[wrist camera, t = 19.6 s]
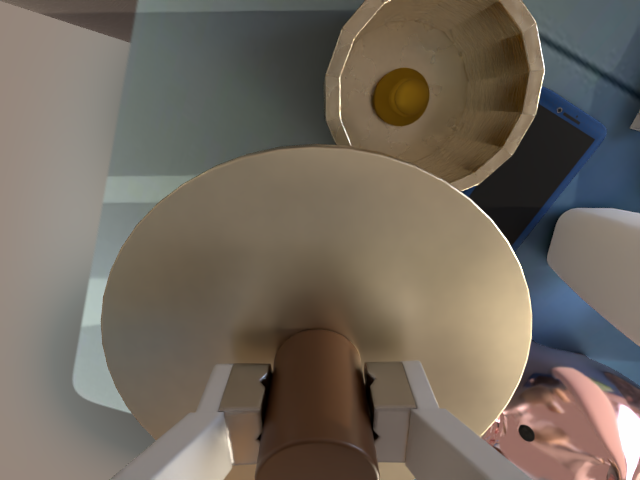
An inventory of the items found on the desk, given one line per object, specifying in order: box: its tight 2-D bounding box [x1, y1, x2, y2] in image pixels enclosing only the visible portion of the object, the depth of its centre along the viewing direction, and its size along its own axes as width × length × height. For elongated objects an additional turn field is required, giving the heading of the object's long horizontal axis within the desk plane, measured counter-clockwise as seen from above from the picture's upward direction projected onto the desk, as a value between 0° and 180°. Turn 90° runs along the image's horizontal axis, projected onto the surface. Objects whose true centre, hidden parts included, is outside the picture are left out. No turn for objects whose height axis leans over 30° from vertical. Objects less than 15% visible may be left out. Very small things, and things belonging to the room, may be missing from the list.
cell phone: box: [461, 87, 607, 252], centre depth 28 cm, size 7×14×1 cm, turn 153°
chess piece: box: [373, 68, 430, 126], centre depth 23 cm, size 4×4×5 cm
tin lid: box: [101, 144, 532, 480], centre depth 9 cm, size 13×13×5 cm
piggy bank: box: [481, 339, 640, 480], centre depth 29 cm, size 15×18×16 cm
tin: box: [323, 0, 545, 191], centre depth 22 cm, size 12×12×8 cm
